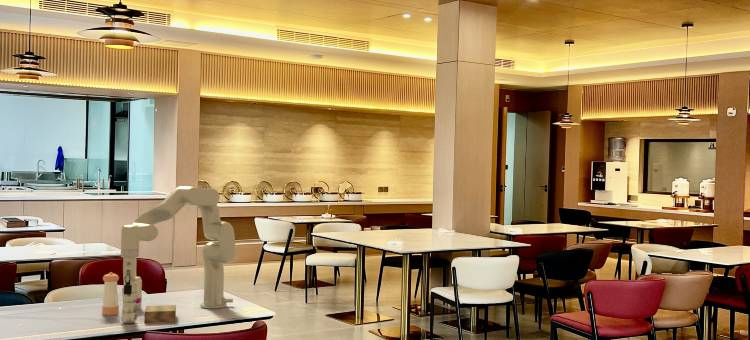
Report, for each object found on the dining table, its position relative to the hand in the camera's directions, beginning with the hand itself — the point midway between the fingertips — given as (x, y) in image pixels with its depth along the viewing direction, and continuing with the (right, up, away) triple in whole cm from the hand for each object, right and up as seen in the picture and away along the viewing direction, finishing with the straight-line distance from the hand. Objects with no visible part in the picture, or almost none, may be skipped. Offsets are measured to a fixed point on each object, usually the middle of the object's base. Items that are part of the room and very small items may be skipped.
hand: (128, 292), depth 327 cm
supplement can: (-9, -13, +31) cm, 35 cm away
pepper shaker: (-15, -13, +20) cm, 28 cm away
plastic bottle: (0, -14, +1) cm, 14 cm away
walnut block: (+11, -14, +9) cm, 20 cm away
